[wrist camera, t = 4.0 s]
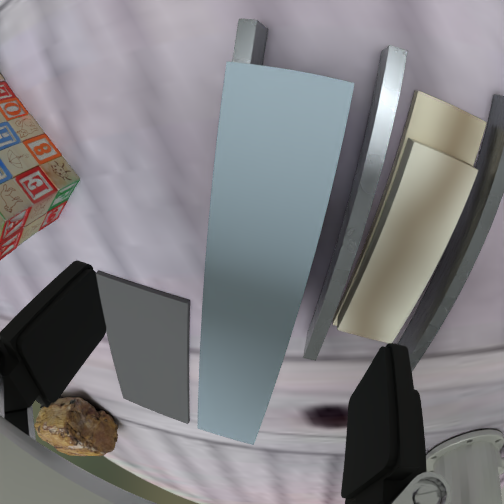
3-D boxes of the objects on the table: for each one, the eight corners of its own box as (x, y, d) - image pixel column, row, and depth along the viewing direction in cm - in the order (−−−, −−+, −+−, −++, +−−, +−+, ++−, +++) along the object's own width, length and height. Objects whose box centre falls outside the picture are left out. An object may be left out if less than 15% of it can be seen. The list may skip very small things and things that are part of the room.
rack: (505, 100, 14) (527, 104, 12) (403, 353, 25) (406, 378, 23) (252, 27, 17) (239, 18, 14) (216, 308, 28) (204, 331, 25)
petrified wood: (75, 382, 43) (55, 434, 35) (138, 418, 49) (125, 468, 41) (43, 395, 52) (27, 435, 44) (92, 425, 57) (80, 463, 50)
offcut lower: (477, 119, 16) (486, 122, 15) (387, 326, 25) (388, 339, 24) (412, 90, 17) (418, 90, 15) (333, 312, 26) (332, 324, 25)
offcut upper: (468, 163, 16) (478, 170, 15) (389, 330, 24) (391, 344, 22) (408, 137, 17) (414, 141, 16) (337, 316, 24) (337, 329, 23)
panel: (341, 87, 17) (354, 83, 6) (292, 298, 26) (253, 445, 14) (293, 77, 18) (226, 61, 7) (255, 289, 26) (197, 428, 15)
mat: (189, 300, 28) (187, 303, 28) (189, 421, 39) (188, 424, 39) (98, 270, 30) (95, 273, 29) (125, 395, 41) (123, 398, 40)
